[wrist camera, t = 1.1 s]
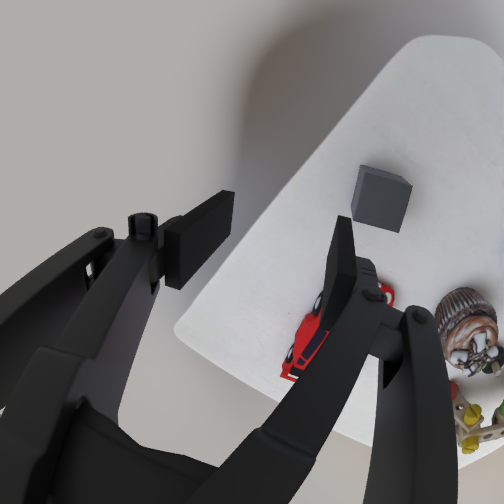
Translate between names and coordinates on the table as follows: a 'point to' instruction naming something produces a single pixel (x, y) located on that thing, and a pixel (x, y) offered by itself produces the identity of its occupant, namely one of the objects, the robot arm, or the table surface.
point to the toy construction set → (477, 413)
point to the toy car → (312, 338)
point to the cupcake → (467, 330)
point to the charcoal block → (380, 199)
